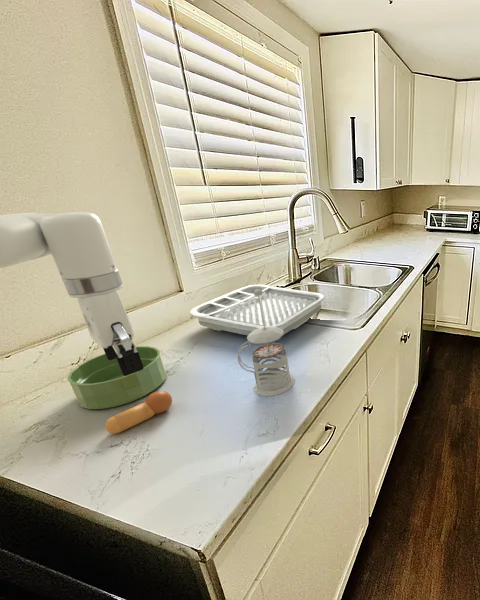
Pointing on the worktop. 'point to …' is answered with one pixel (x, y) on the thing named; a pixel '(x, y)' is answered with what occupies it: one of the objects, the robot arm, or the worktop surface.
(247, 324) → the dish rack
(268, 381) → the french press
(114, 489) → the worktop surface
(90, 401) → the green shallow bowl
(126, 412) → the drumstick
